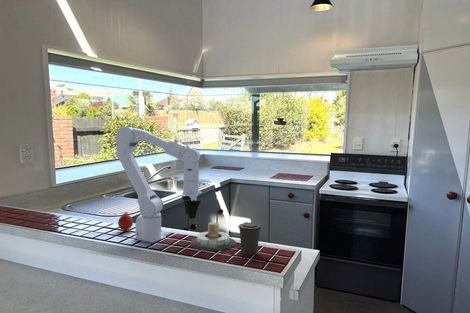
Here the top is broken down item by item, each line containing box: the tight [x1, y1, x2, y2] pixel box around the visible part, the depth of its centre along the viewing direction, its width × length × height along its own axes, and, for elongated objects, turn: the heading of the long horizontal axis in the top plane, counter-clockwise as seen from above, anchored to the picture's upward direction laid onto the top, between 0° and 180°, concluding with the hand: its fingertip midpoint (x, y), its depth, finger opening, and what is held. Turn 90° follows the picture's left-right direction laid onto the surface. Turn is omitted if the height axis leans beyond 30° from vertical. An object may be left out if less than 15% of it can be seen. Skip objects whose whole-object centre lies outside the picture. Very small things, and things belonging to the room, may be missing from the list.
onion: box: [117, 211, 134, 232], centre depth 138 cm, size 6×6×8 cm
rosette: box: [190, 231, 237, 252], centre depth 124 cm, size 17×17×3 cm
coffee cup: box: [237, 221, 263, 256], centre depth 115 cm, size 8×8×10 cm
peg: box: [207, 221, 220, 238], centre depth 124 cm, size 4×4×7 cm
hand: (190, 216), depth 126 cm, fingers open, 7 cm apart
